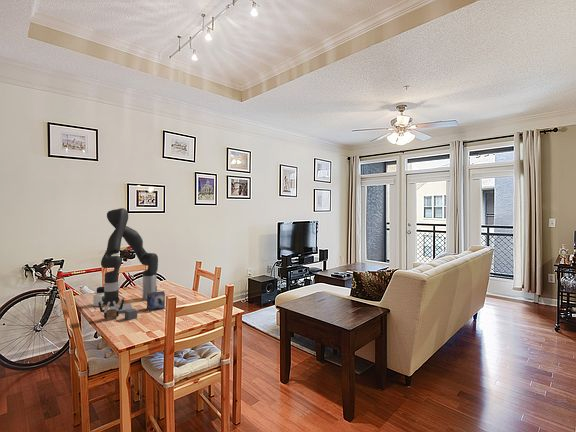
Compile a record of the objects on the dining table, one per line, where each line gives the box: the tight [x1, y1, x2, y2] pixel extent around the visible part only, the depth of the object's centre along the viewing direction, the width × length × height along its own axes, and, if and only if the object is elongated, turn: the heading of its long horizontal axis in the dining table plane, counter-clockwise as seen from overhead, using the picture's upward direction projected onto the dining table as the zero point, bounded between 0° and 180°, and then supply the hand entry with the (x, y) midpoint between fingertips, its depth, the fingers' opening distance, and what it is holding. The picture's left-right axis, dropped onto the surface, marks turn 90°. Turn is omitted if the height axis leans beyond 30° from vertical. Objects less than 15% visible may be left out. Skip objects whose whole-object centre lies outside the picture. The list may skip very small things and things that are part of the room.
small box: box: [146, 290, 166, 311], centre depth 208 cm, size 11×6×10 cm, turn 118°
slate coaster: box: [109, 303, 133, 315], centre depth 202 cm, size 12×12×2 cm
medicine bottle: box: [92, 286, 106, 307], centre depth 214 cm, size 7×7×12 cm
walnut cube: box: [106, 308, 117, 322], centre depth 188 cm, size 5×5×5 cm
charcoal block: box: [124, 308, 138, 321], centre depth 189 cm, size 5×5×5 cm
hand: (111, 317), depth 188 cm, fingers closed on walnut cube, 5 cm apart
